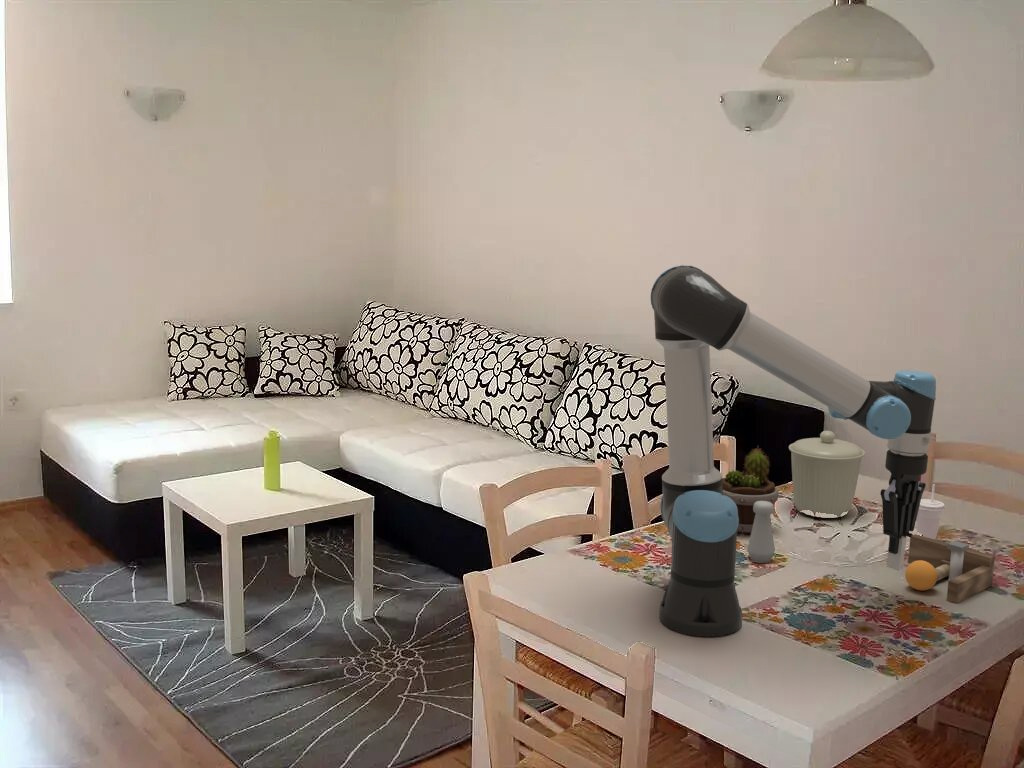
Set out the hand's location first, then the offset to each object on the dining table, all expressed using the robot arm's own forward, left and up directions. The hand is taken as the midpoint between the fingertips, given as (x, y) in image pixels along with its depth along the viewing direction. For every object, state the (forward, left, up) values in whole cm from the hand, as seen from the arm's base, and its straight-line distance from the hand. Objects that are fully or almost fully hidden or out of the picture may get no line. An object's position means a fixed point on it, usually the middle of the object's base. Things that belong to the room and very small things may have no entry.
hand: (894, 567), depth 206 cm
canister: (+37, +41, -7) cm, 56 cm away
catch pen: (+15, 0, -6) cm, 17 cm away
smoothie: (+36, +13, -7) cm, 39 cm away
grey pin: (+16, -4, -6) cm, 18 cm away
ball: (+9, -1, -3) cm, 9 cm away
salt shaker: (-3, +30, -7) cm, 30 cm away
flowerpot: (+11, +45, -7) cm, 47 cm away
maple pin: (+12, -1, -5) cm, 13 cm away
